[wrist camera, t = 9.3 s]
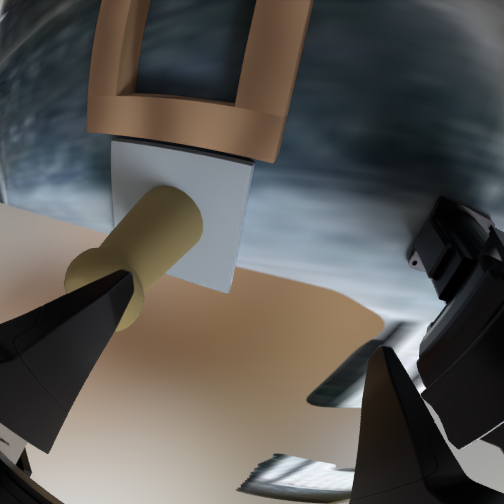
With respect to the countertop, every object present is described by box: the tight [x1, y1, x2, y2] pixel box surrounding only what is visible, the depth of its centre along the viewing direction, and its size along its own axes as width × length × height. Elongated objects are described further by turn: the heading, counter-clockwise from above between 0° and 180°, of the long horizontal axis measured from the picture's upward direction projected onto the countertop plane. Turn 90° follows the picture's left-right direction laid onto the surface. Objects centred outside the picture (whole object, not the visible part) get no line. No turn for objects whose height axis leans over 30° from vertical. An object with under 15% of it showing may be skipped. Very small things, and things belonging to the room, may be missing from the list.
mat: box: [111, 138, 255, 294], centre depth 23 cm, size 12×12×1 cm
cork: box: [64, 185, 203, 332], centre depth 18 cm, size 6×6×11 cm
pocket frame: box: [87, 0, 314, 163], centre depth 14 cm, size 15×15×2 cm
